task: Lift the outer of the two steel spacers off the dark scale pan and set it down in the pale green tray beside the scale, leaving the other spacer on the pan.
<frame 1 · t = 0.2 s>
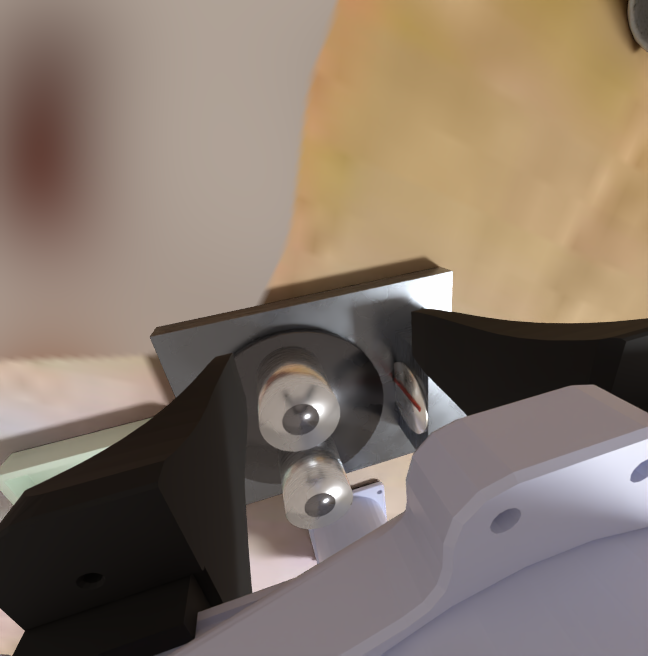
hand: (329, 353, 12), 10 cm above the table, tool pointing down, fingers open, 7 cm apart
spacer b: (289, 375, 20), point 2 cm above the table, touching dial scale
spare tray: (132, 484, 24), on the table
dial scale: (324, 389, 24), on the table
spacer a: (307, 451, 23), point 2 cm above the table, touching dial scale
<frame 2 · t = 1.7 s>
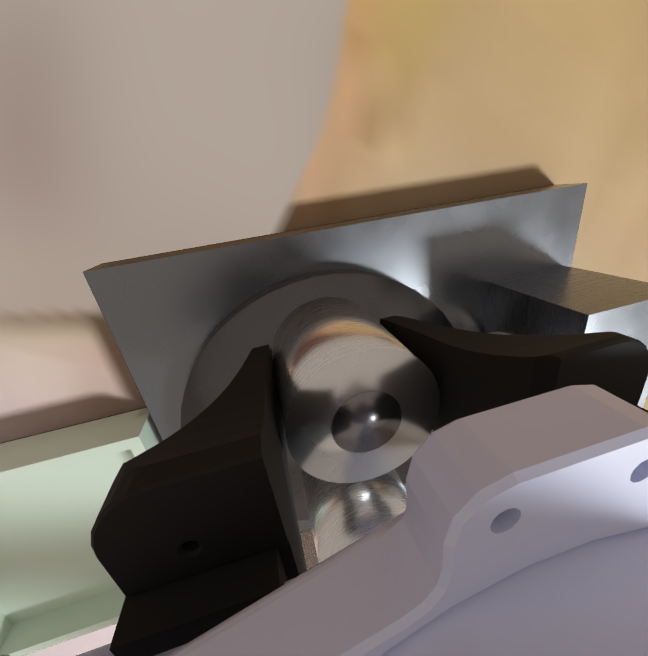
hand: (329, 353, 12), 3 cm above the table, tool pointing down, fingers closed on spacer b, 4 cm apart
spacer b: (326, 349, 12), point 2 cm above the table, touching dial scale, gripper
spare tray: (78, 521, 15), on the table
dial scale: (370, 377, 16), on the table
spacer a: (345, 472, 15), point 2 cm above the table, touching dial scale
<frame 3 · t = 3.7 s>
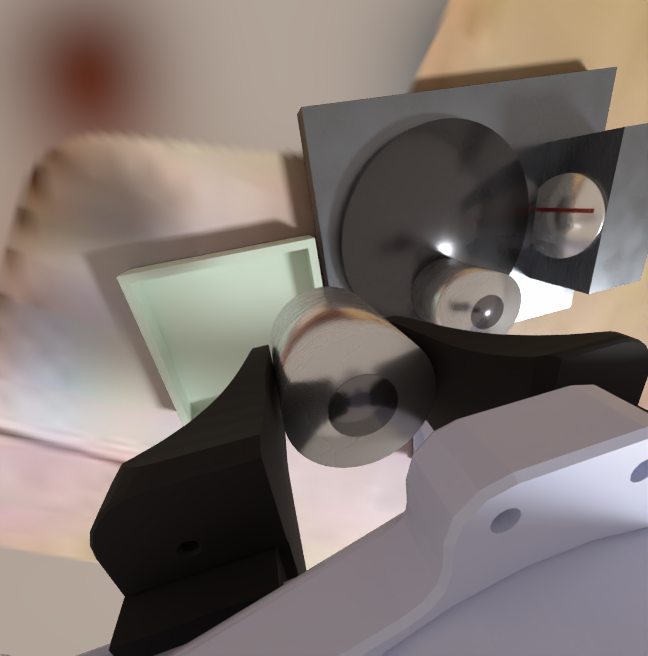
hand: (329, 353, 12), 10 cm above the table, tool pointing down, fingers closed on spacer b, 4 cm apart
spacer b: (324, 339, 12), point 9 cm above the table, touching gripper
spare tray: (245, 330, 21), on the table
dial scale: (453, 228, 22), on the table
spacer a: (440, 290, 21), point 2 cm above the table, touching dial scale
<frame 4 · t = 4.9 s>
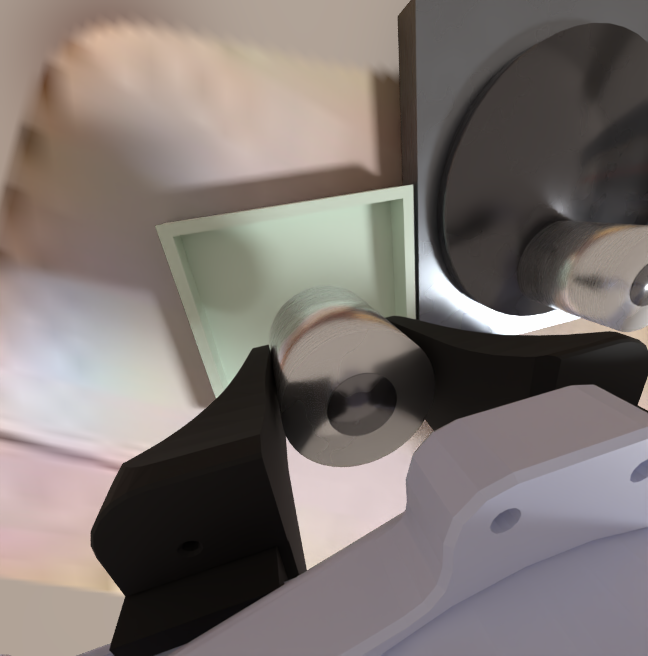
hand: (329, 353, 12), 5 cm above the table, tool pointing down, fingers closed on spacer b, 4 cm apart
spacer b: (323, 338, 12), point 5 cm above the table, touching gripper
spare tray: (305, 310, 17), on the table
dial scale: (563, 188, 18), on the table
spacer a: (552, 263, 17), point 2 cm above the table, touching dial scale
when the fingers open (2 cm above the table, at t = 5.9 s): spacer b drops 1 cm, resting on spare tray.
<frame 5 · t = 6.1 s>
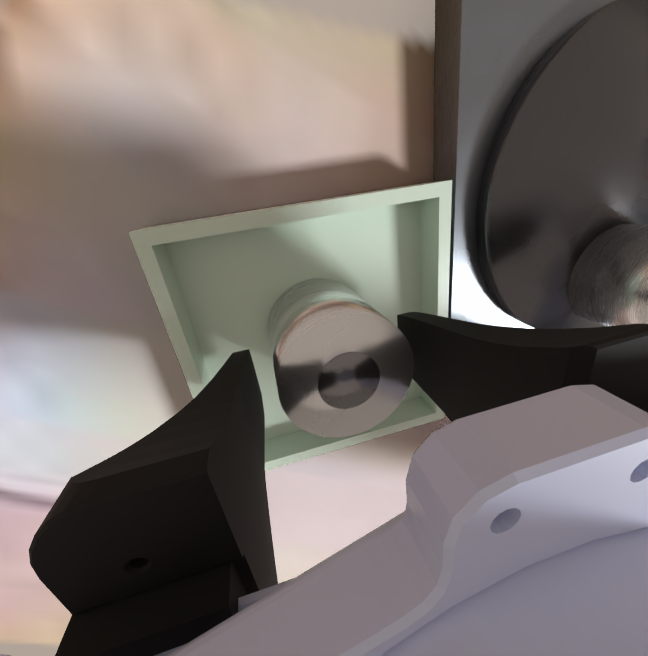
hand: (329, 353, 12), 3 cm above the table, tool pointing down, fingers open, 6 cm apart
spacer b: (317, 326, 14), point 1 cm above the table, touching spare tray
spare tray: (316, 329, 14), on the table
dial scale: (617, 185, 15), on the table
spacer a: (608, 274, 14), point 2 cm above the table, touching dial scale
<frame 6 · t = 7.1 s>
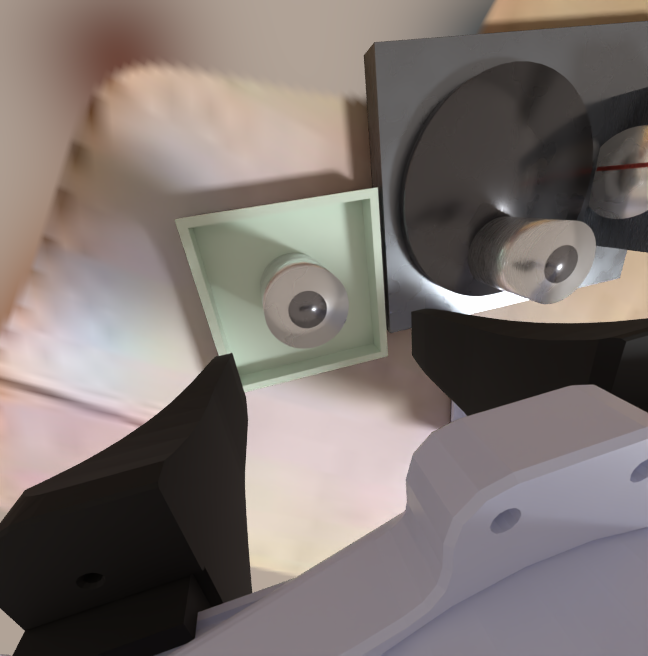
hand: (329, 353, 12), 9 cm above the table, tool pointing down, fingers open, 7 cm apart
spacer b: (294, 287, 20), point 1 cm above the table, touching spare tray
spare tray: (294, 290, 20), on the table
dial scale: (509, 189, 21), on the table
spacer a: (497, 251, 20), point 2 cm above the table, touching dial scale
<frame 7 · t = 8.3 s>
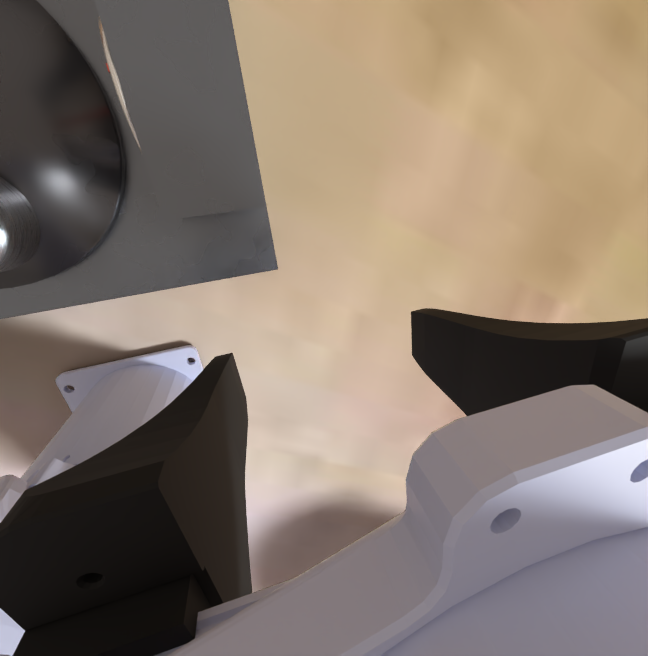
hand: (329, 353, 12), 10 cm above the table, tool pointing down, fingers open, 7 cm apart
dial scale: (35, 134, 14), on the table
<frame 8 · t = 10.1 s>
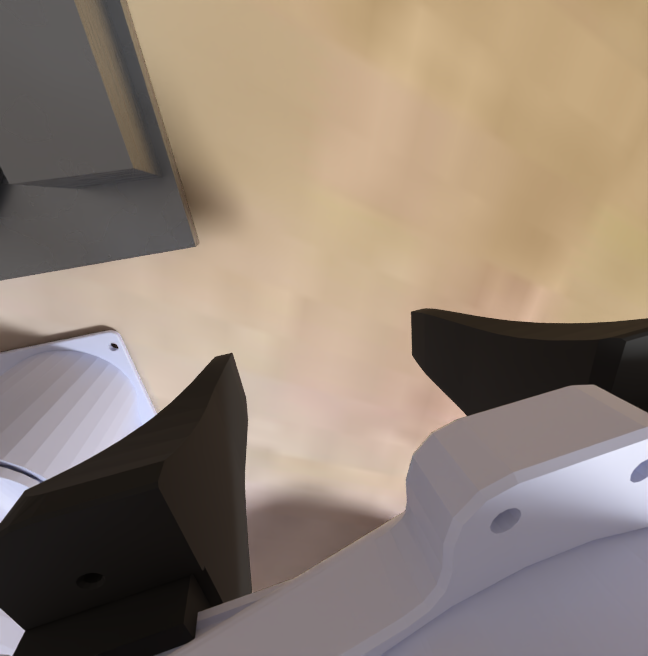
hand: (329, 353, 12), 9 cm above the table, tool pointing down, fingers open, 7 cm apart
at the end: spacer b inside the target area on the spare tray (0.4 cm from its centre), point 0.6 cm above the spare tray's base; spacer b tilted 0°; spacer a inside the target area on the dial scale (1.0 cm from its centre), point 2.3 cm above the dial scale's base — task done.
